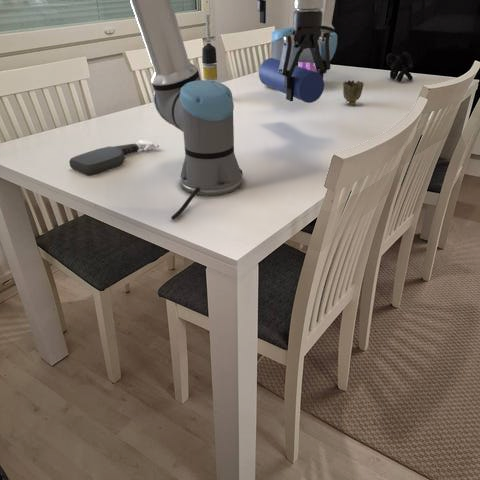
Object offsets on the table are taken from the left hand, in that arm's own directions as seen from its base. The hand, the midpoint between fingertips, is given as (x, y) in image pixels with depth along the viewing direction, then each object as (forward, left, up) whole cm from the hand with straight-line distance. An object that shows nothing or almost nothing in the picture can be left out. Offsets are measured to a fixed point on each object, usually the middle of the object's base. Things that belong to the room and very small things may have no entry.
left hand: (303, 98), depth 129 cm
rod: (+6, +6, 0) cm, 8 cm away
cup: (+44, -9, -13) cm, 47 cm away
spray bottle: (-30, +45, -13) cm, 56 cm away
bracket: (+99, +18, -13) cm, 102 cm away
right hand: (+28, +15, +17) cm, 36 cm away
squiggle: (+91, -24, -13) cm, 95 cm away
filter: (+38, +45, -13) cm, 60 cm away
